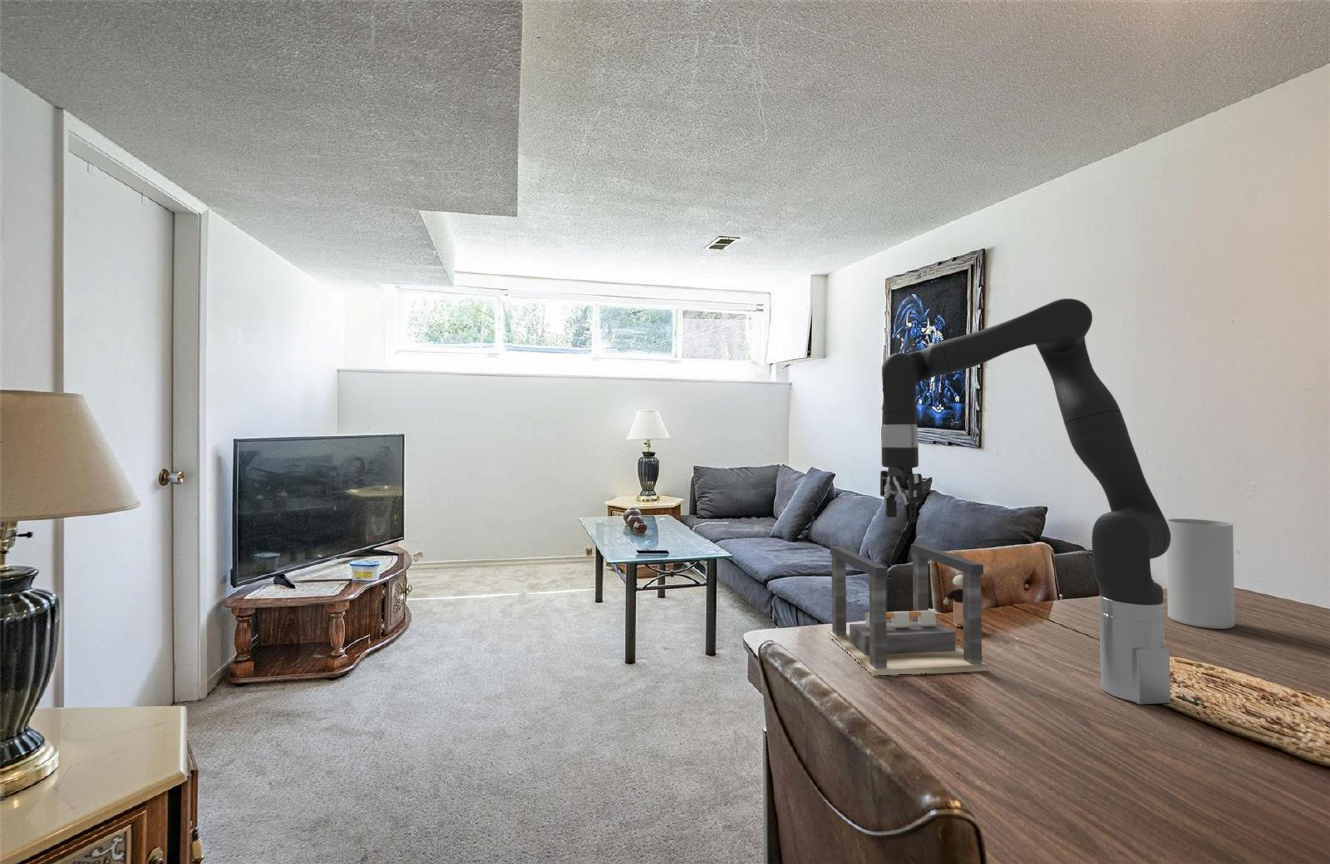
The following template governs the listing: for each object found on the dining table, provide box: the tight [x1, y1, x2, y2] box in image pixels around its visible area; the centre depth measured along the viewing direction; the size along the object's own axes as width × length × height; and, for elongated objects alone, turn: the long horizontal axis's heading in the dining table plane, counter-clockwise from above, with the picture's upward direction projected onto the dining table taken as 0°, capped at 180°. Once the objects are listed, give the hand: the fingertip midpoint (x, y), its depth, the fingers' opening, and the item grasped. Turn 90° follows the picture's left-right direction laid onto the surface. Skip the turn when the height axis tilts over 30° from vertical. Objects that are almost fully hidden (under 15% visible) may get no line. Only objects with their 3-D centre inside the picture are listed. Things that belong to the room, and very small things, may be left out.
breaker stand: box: [827, 553, 989, 676], centre depth 131 cm, size 24×24×19 cm
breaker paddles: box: [864, 609, 937, 627], centre depth 131 cm, size 2×15×3 cm, turn 96°
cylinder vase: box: [1165, 518, 1236, 630], centre depth 150 cm, size 12×12×25 cm
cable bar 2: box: [910, 543, 984, 576], centre depth 132 cm, size 24×2×2 cm, turn 6°
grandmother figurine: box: [943, 574, 963, 626], centre depth 148 cm, size 8×4×13 cm, turn 84°
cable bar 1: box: [829, 545, 889, 579], centre depth 130 cm, size 24×2×2 cm, turn 6°
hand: (900, 519), depth 131 cm, fingers open, 8 cm apart
